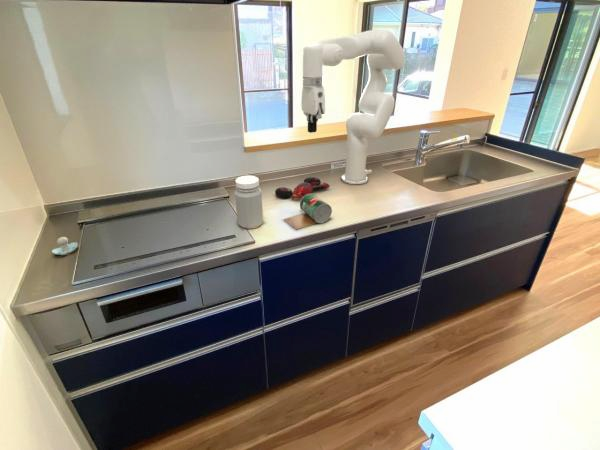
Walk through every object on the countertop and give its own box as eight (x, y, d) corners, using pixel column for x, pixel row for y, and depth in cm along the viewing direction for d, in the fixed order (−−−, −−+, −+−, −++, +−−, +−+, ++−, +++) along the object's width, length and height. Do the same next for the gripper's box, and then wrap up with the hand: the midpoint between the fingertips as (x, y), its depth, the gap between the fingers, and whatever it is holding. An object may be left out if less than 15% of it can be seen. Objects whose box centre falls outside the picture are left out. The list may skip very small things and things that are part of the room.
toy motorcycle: (272, 198, 153) (295, 205, 142) (270, 187, 151) (294, 192, 140) (312, 185, 168) (336, 190, 157) (311, 174, 166) (336, 178, 155)
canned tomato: (312, 189, 136) (328, 199, 127) (318, 204, 141) (334, 215, 132) (296, 200, 134) (311, 211, 126) (303, 215, 139) (318, 227, 131)
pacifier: (51, 253, 114) (56, 260, 110) (43, 237, 111) (49, 243, 107) (75, 244, 119) (81, 250, 115) (68, 228, 116) (75, 234, 112)
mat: (317, 209, 141) (317, 209, 141) (330, 218, 134) (330, 218, 134) (283, 220, 133) (283, 219, 133) (296, 229, 127) (296, 229, 127)
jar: (234, 220, 133) (230, 176, 124) (258, 215, 137) (255, 172, 128) (241, 232, 125) (237, 186, 117) (267, 226, 129) (264, 182, 120)
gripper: (333, 83, 123) (331, 134, 132) (309, 79, 134) (309, 126, 143) (316, 85, 120) (315, 137, 129) (293, 80, 131) (294, 129, 140)
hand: (312, 131), depth 136 cm, fingers closed
